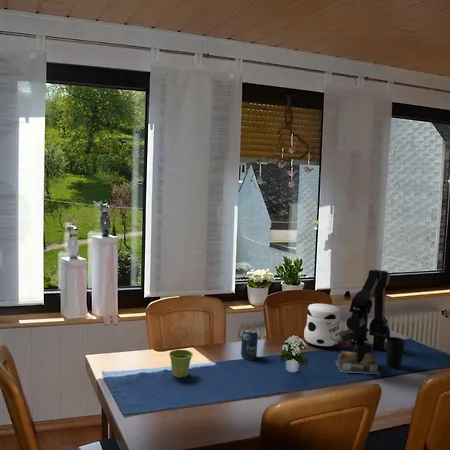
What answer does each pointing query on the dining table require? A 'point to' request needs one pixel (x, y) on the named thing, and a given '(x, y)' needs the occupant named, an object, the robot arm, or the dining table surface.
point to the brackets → (356, 367)
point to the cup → (394, 351)
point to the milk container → (322, 325)
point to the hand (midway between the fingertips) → (357, 360)
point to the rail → (352, 358)
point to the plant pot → (180, 362)
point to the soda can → (249, 344)
